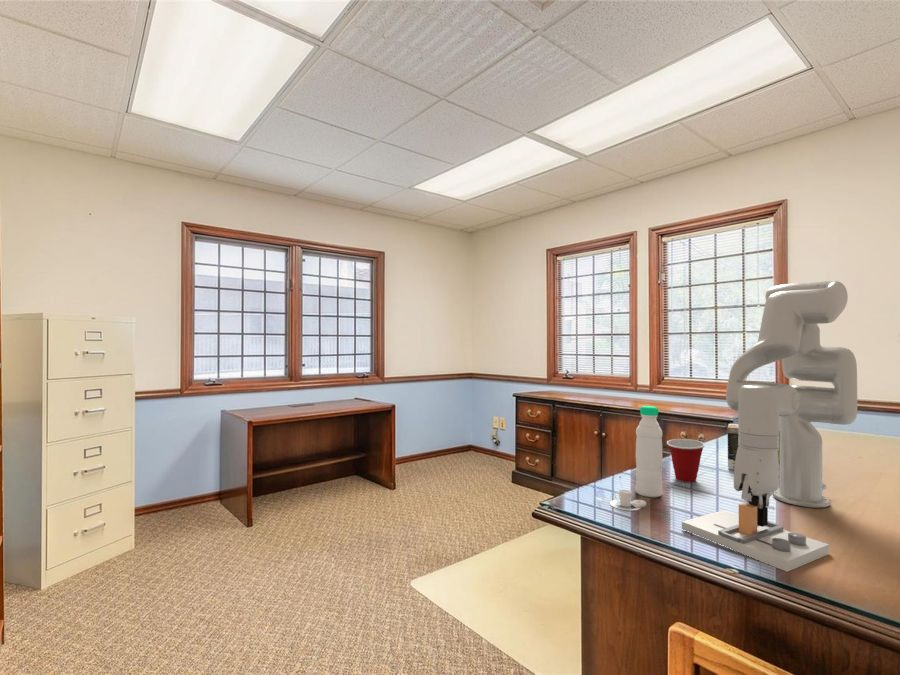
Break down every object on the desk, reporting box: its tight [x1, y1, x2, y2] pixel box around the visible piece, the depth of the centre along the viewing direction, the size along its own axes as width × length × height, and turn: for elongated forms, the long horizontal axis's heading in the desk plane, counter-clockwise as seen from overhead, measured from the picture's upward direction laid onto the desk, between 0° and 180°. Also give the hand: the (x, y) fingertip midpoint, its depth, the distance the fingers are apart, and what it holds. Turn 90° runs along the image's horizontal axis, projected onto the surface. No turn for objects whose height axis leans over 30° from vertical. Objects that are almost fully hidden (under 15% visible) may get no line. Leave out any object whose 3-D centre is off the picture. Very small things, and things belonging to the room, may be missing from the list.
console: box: [681, 509, 830, 573], centre depth 103 cm, size 16×22×4 cm
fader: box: [738, 502, 757, 535], centre depth 102 cm, size 2×3×6 cm
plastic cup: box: [666, 438, 705, 483], centre depth 148 cm, size 11×11×12 cm
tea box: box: [727, 423, 780, 471], centre depth 161 cm, size 15×10×15 cm
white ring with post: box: [609, 489, 647, 512], centre depth 125 cm, size 9×8×4 cm
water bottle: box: [635, 405, 663, 498], centre depth 134 cm, size 7×7×25 cm
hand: (757, 523), depth 104 cm, fingers closed
